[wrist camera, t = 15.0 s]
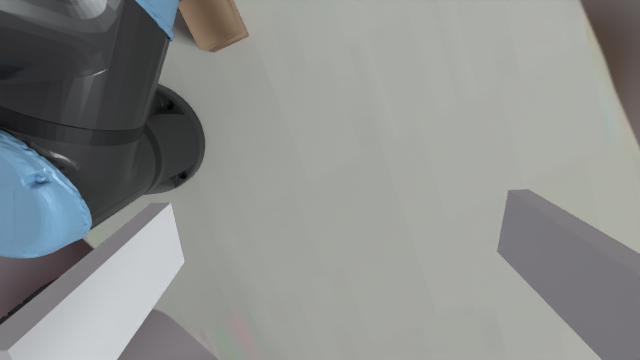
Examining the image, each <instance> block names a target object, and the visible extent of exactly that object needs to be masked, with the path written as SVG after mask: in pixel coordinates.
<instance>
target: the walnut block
mask: <svg viewBox="0 0 640 360" xmlns="http://www.w3.org/2000/svg"><path fill="white" fill-rule="evenodd" d="M178 8H179V10H180V12H181V14H182V16H183V18H184V20H185V22H186V24H187V26H188V28H189V30H190V32H191V34H192V36H193V38H194V40H195V42H196V44H197V46H198V48H199V50H204V51H210V52H216V51H218V50H221V49H223V48H225V47H227V46H229V45H231V44H233V43H235V42H237V41H239V40H242V39H244V38H246V37H248V36H249V34H248V32H247V30H246V27H245V25H244V23H243V21H242V18H241V16H240V14H239V12H238V9H237V7H236V5H235V3H234V0H182V1H180V2H179V3H178Z"/></svg>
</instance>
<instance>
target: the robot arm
mask: <svg viewBox="0 0 640 360" xmlns="http://www.w3.org/2000/svg"><path fill="white" fill-rule="evenodd" d="M178 3H179V0H0V256H5V257H11V258H33V257H38V256H42V255H46V254H50V253H52V252H54V251H56V250H58V249H60V248H62V247H64V246H66V245H68V244H70V243H71V242H74V241H77V240H79V239H81V238H83V237H84V236H85V235H87V234H88V233H87V232H90V230H91V229H93V228H94V227H96V226H97V225H99V224H100V223H102V222H103V221H105V220H106V219H108V218H109V217H111V216H112V215H114V214H115V213H117V212H118V211H120V210H121V209H123V208H124V207H126V206H127V205H129V204H130V203H132V202H133V201H135V200H136V199H138V198H139V197H141V196H142V195H148V194H156V193H163V192H167V191H170V190H173V189H175V188H177V187H179V186H181V185H182V184H183V183H185V182H186V181H187V180H189V179H190V178H191V177H192V176H193V175H194V174H195V173H196V172H197V170H198V169H199V167H200V165H201V163H202V160H203V157H204V152H205V138H204V132H203V129H202V126H201V123H200V121H199V119H198V117H197V115H196V114H195V112H194V111H193V109H192V108H191V107H190V105H189V104H188V103H187V102H186V101H185V100H184V99H183V98H182V97H180V96H179V95H178V94H176V93H175V92H173V91H172V90H170V89H168V88H166V87H164V86H161V85H158V81H159V77H160V74H161V70H162V67H163V63H164V60H165V57H166V53H167V50H168V46H169V43H170V41H172V40H173V38H174V35H173V32H172V30H173V25H174V21H175V16H176V12H177V8H178ZM497 252H498V253H499V254H500V255H501V256H502V257H503V258H504V259H505V260H506V261H507V262H508V263H509V264H510V265H511V266H512V267H513V268H514V269H515V270H516V271H517V272H518V273H519V275H520V276H521V277H522V278H523V279H524V280H525V281H526V282H527V283H528V284H529V285H530V286H531V287H532V288H533V289H534V290H535V291H536V292H537V293H538V294H539V295H540V296H541V297H542V298H543V299H544V300H545V301H546V302H547V303H548V304H549V305H550V306H551V308H552V309H553V310H554V311H555V312H556V313H557V314H558V315H559V316H560V317H561V318H562V319H563V320H564V321H565V322H566V323H567V324H568V325H569V326H570V327H571V328H572V329H573V330H574V331H575V332H576V333H577V334H578V335H579V336H580V337H581V338H582V339H583V341H584V342H585V343H586V344H587V345H588V346H589V347H590V348H591V349H592V350H593V351H594V352H595V353H596V354H597V355H598V356H599V357H600V358H601V359H602V360H640V254H639V253H637V252H636V251H634V250H632V249H630V248H629V247H627V246H625V245H624V244H622V243H620V242H618V241H617V240H615V239H613V238H611V237H610V236H608V235H606V234H605V233H603V232H601V231H599V230H598V229H596V228H594V227H593V226H591V225H589V224H587V223H586V222H584V221H582V220H580V219H579V218H577V217H575V216H574V215H572V214H570V213H568V212H567V211H565V210H563V209H561V208H560V207H558V206H556V205H555V204H553V203H551V202H549V201H548V200H546V199H544V198H543V197H541V196H539V195H537V194H536V193H534V192H532V191H530V190H529V189H526V190H509V191H508V196H507V201H506V207H505V212H504V217H503V223H502V228H501V233H500V239H499V244H498V249H497ZM183 264H184V258H183V254H182V250H181V245H180V241H179V237H178V232H177V228H176V223H175V219H174V215H173V210H172V206H171V203H151V204H150V205H149V206H148V207H146V208H145V209H144V210H143V211H141V212H140V213H139V214H138V215H136V216H135V217H134V218H133V219H131V220H130V221H129V222H128V223H126V224H125V225H124V226H123V227H121V228H120V229H119V230H118V231H117V232H115V233H114V234H113V235H112V236H110V237H109V238H108V239H107V240H105V241H104V242H103V243H102V244H100V245H99V246H98V247H97V248H95V249H94V250H93V251H92V252H90V253H89V254H88V255H87V256H85V257H84V258H83V259H82V260H81V261H79V262H78V263H77V264H76V265H74V266H73V267H72V268H71V269H69V270H68V271H67V272H66V273H64V274H63V275H62V276H60V277H58V278H56V279H55V280H53V281H51V282H49V283H47V284H46V285H44V286H42V287H40V288H39V289H38V290H36V291H35V292H34V293H33V294H31V295H30V296H29V297H28V298H26V299H25V300H24V301H23V303H22V304H19V305H17V306H16V307H15V308H14V309H13V310H11V311H10V312H8V315H7V316H3V317H2V318H1V319H0V360H117V358H118V357H119V355H120V354H121V352H122V351H123V350H124V348H125V347H126V345H127V344H128V343H129V341H130V340H131V338H132V337H133V335H134V334H135V333H136V331H137V330H138V328H139V327H140V325H141V324H142V322H143V321H144V320H145V318H146V317H147V315H148V314H149V312H150V311H151V310H152V308H153V307H154V305H155V304H156V302H157V301H158V300H159V298H160V297H161V295H162V294H163V292H164V291H165V289H166V288H167V287H168V285H169V284H170V282H171V281H172V279H173V278H174V277H175V275H176V274H177V272H178V271H179V269H180V268H181V266H182V265H183Z"/></svg>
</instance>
